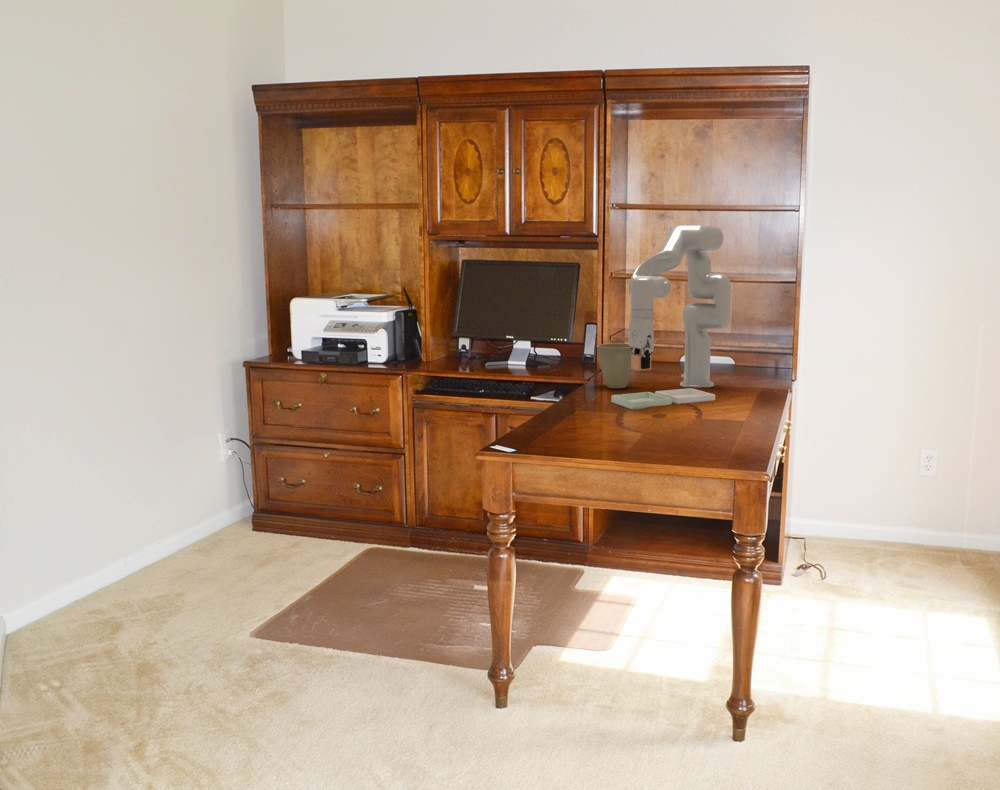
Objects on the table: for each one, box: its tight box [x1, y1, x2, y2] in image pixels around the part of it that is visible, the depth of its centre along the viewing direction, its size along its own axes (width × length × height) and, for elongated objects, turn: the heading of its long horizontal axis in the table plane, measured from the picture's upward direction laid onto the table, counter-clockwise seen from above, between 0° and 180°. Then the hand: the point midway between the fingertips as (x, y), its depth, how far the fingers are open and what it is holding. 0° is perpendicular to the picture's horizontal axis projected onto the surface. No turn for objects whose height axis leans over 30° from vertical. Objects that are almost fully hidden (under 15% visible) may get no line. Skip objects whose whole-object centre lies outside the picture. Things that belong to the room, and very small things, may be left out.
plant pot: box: [596, 342, 633, 389], centre depth 361 cm, size 15×15×16 cm
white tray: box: [654, 387, 716, 405], centre depth 333 cm, size 15×15×2 cm
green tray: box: [610, 391, 673, 410], centre depth 327 cm, size 15×15×2 cm
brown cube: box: [631, 353, 652, 372], centre depth 325 cm, size 5×5×5 cm
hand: (641, 367), depth 325 cm, fingers closed on brown cube, 4 cm apart
